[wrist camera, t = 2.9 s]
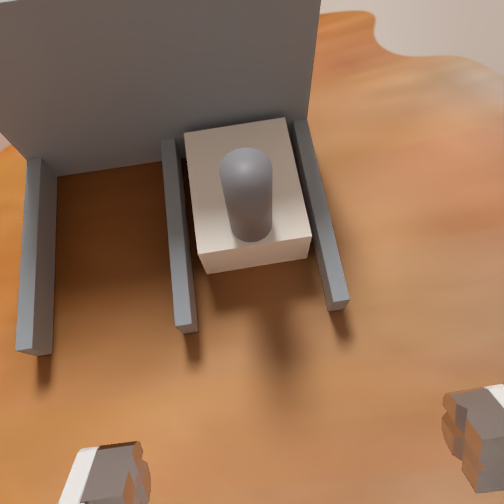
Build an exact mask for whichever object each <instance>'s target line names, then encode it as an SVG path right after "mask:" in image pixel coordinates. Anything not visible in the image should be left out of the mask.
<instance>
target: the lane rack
mask: <svg viewBox="0 0 504 504" xmlns="http://www.w3.org/2000/svg"><path fill="white" fill-rule="evenodd" d="M320 4H321V0H0V132H1V133H2V135H3V136H4V137H5V138H6V139H7V140H8V141H9V142H10V143H11V144H12V145H13V146H14V147H15V148H16V149H17V150H18V151H19V152H20V153H21V154H22V155H23V157H24V158H25V159H26V160H27V167H26V183H25V200H24V216H23V233H22V249H21V266H20V282H19V299H18V315H17V331H16V348H15V351H19V352H22V353H26V354H30V355H34V356H42V355H48V354H52V349H53V314H54V280H55V245H56V210H57V177H58V176H65V175H72V174H79V173H85V172H92V171H99V170H106V169H112V168H119V167H126V166H133V165H139V164H146V163H153V162H160V161H162V165H163V178H164V191H165V203H166V216H167V229H168V242H169V254H170V267H171V280H172V293H173V305H174V318H175V327H177V328H178V329H179V330H180V331H181V332H182V333H183V334H185V333H192V332H198V322H197V312H196V302H195V291H194V281H193V271H192V261H191V251H190V241H189V231H188V220H187V210H186V200H185V190H184V180H183V170H182V160H181V158H186V149H185V140H184V133H186V132H193V131H199V130H206V129H212V128H219V127H225V126H232V125H238V124H244V123H251V122H257V121H264V120H270V119H277V118H283V117H285V120H286V124H287V129H288V133H289V138H290V142H292V146H293V151H294V155H295V160H296V165H297V169H298V174H299V178H300V183H301V188H302V192H303V197H304V202H305V206H306V211H307V215H308V220H309V225H310V229H311V234H312V239H313V243H314V248H315V253H316V257H317V262H318V266H319V271H320V276H321V280H322V285H323V290H324V294H325V299H326V303H327V308H328V312H329V311H335V310H342V309H344V307H345V306H346V304H347V303H348V301H349V300H350V298H349V294H348V290H347V285H346V281H345V277H344V273H343V268H342V264H341V260H340V256H339V252H338V247H337V243H336V239H335V235H334V231H333V226H332V222H331V218H330V214H329V210H328V205H327V201H326V197H325V193H324V189H323V184H322V180H321V176H320V172H319V168H318V163H317V159H316V155H315V151H314V147H313V142H312V138H311V134H310V130H309V126H308V121H307V114H308V105H309V97H310V88H311V80H312V71H313V63H314V55H315V46H316V38H317V29H318V21H319V11H320Z"/></svg>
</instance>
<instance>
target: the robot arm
mask: <svg viewBox="0 0 504 504" xmlns="http://www.w3.org/2000/svg"><path fill="white" fill-rule="evenodd" d="M443 406H444V408H445V409H446V411H447V412H446V413H445V414H444V415H443V417H442V431H443V436H444V439H445V441H446V444H447V446H448V448H449V450H450V451H451V453H452V455H454V456H455V457H457V458H458V459H460V460H462V471H463V473H464V475H465V476H466V478H467V480H468V481H469V483H470V485H471V486H472V488H473V489H474V491H475V493H476V494H477V493H485V492H493V491H501V490H504V385H503V384H498V385H492V386H486V387H482V388H481V387H480V388H474V389H468V390H462V391H456V392H450V393H445V395H444V397H443ZM142 454H143V449H142V446H141V444H140V442H139V441H133V442H125V443H118V444H110V445H102V446H97V447H89V448H81V450H80V451H79V452H78V453H77V455H76V458H75V460H74V463H73V465H72V468H71V471H70V473H69V476H68V479H67V481H66V484H65V486H64V489H63V492H62V494H61V497H60V500H59V502H58V504H148V503H149V499H150V492H151V477H150V471H149V467H148V464H147V462H145V461H144V460H142Z"/></svg>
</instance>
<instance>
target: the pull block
mask: <svg viewBox="0 0 504 504" xmlns="http://www.w3.org/2000/svg"><path fill="white" fill-rule="evenodd" d="M184 140H185V149H186V157H187V166H188V175H189V183H190V192H191V200H192V209H193V218H194V226H195V235H196V243H197V252H198V256H199V258H200V260H201V263H202V265H203V267H204V269H205V271H206V274H212V273H218V272H224V271H231V270H237V269H243V268H249V267H255V266H262V265H268V264H274V263H280V262H286V261H292V260H299V259H305V258H307V256H308V251H309V247H310V242H311V238H312V234H311V229H310V225H309V221H308V216H307V212H306V208H305V203H304V199H303V194H302V190H301V186H300V181H299V177H298V173H297V168H296V164H295V159H294V155H293V151H292V146H291V142H290V138H289V133H288V129H287V124H286V120H285V117H283V118H277V119H270V120H264V121H257V122H251V123H244V124H238V125H232V126H225V127H219V128H212V129H206V130H199V131H193V132H186V133H184Z"/></svg>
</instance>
